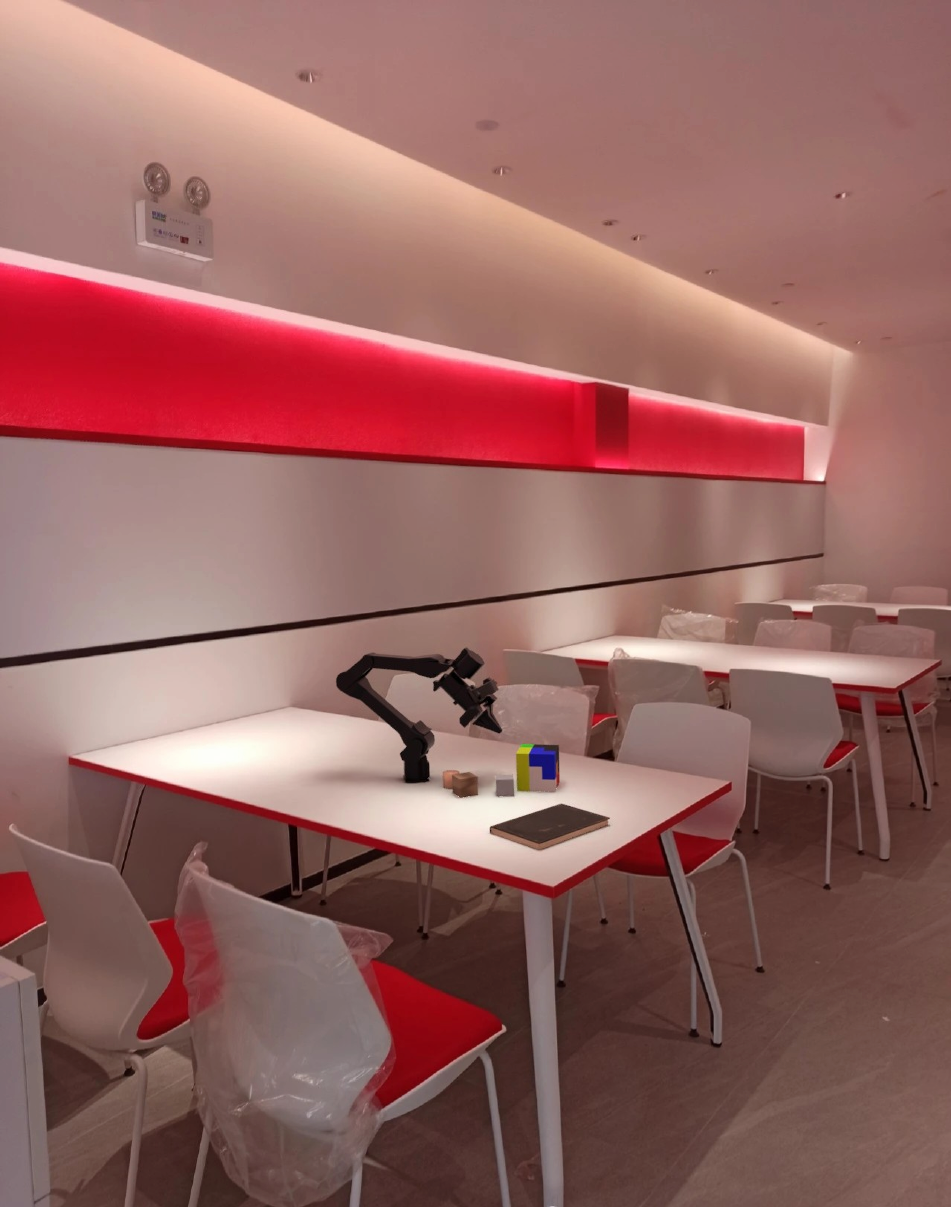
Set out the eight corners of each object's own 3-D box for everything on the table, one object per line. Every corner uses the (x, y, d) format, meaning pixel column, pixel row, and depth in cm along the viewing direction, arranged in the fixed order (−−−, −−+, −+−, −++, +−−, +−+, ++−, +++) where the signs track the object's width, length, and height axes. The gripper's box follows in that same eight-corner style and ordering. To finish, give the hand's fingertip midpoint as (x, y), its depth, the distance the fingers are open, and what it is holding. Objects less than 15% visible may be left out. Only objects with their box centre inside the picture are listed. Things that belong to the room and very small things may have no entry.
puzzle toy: (555, 792, 244) (554, 754, 243) (517, 791, 246) (516, 753, 245) (559, 781, 254) (558, 745, 253) (522, 780, 256) (521, 744, 255)
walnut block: (460, 798, 241) (459, 779, 241) (452, 793, 246) (452, 774, 245) (478, 795, 243) (477, 776, 243) (470, 790, 248) (469, 771, 248)
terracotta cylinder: (444, 789, 249) (444, 775, 249) (442, 785, 253) (441, 770, 253) (461, 788, 250) (460, 773, 249) (458, 784, 254) (458, 769, 254)
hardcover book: (610, 827, 218) (609, 817, 217) (539, 853, 203) (539, 842, 202) (559, 812, 230) (559, 802, 229) (489, 835, 215) (489, 825, 214)
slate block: (496, 797, 242) (496, 779, 241) (496, 791, 246) (495, 775, 246) (514, 796, 242) (513, 779, 241) (513, 791, 246) (512, 774, 246)
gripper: (468, 676, 242) (512, 719, 240) (488, 664, 260) (529, 704, 258) (441, 706, 245) (484, 748, 243) (462, 692, 263) (502, 732, 261)
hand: (501, 732), depth 251 cm, fingers closed
